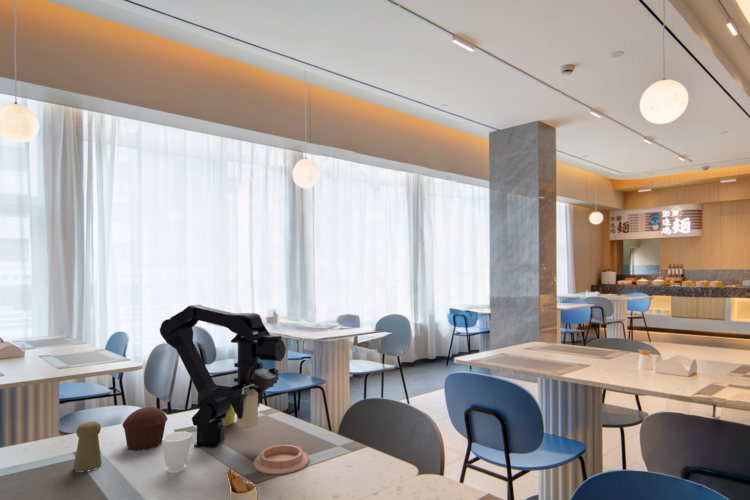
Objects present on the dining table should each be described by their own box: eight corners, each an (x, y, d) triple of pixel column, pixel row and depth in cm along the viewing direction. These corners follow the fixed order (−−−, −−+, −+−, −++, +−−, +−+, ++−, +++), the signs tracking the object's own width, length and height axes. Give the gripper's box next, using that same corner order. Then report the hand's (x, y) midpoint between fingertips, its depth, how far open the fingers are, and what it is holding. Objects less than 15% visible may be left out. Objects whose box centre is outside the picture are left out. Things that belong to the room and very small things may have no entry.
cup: (154, 474, 109) (155, 440, 109) (179, 457, 119) (180, 426, 119) (180, 476, 108) (181, 442, 108) (203, 459, 117) (204, 427, 118)
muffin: (143, 455, 120) (143, 417, 120) (111, 450, 123) (112, 413, 124) (175, 439, 131) (176, 405, 131) (146, 435, 135) (147, 401, 135)
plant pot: (246, 420, 148) (246, 390, 149) (225, 430, 138) (225, 398, 139) (220, 416, 152) (221, 387, 152) (198, 426, 142) (199, 395, 143)
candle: (260, 421, 127) (260, 386, 127) (253, 428, 122) (253, 391, 122) (241, 421, 128) (242, 385, 128) (233, 428, 122) (234, 391, 123)
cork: (107, 463, 114) (108, 420, 115) (85, 474, 109) (86, 428, 109) (89, 460, 116) (91, 417, 117) (67, 470, 111) (68, 425, 111)
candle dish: (245, 473, 109) (245, 463, 109) (263, 450, 123) (263, 441, 123) (302, 475, 108) (302, 465, 108) (313, 451, 122) (313, 442, 122)
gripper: (246, 368, 113) (246, 430, 113) (291, 355, 130) (291, 410, 129) (214, 364, 118) (213, 423, 118) (262, 352, 135) (261, 404, 134)
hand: (247, 415), depth 125 cm, fingers closed on candle, 5 cm apart
